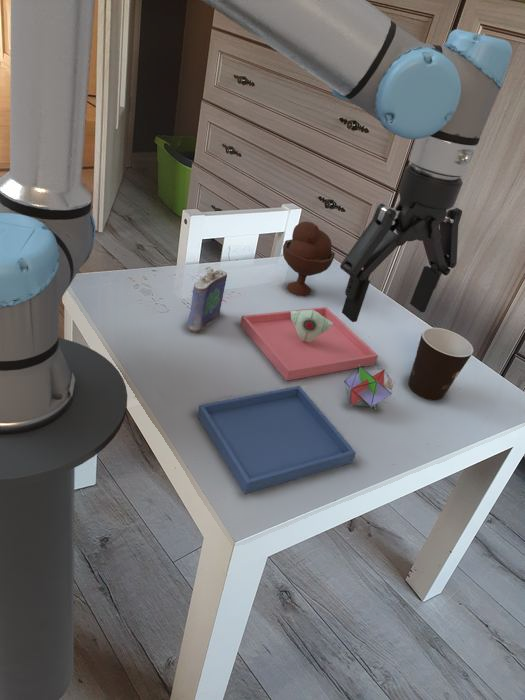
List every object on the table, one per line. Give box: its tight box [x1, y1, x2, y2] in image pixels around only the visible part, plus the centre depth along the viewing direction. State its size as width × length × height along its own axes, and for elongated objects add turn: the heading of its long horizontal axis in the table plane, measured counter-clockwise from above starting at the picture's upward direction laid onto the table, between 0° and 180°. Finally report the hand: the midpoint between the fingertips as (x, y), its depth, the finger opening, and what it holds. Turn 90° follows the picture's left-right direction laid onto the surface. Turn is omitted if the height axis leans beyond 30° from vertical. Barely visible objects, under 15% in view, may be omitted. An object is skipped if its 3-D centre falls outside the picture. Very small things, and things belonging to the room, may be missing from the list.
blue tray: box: [197, 385, 357, 494], centre depth 77 cm, size 17×15×2 cm
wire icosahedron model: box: [343, 365, 394, 410], centre depth 87 cm, size 7×7×8 cm
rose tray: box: [240, 306, 379, 381], centre depth 100 cm, size 19×17×2 cm
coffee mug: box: [407, 327, 474, 401], centre depth 94 cm, size 12×9×10 cm
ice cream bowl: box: [282, 221, 336, 297], centre depth 114 cm, size 11×11×15 cm
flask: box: [187, 266, 228, 334], centre depth 97 cm, size 9×3×11 cm, turn 153°
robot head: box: [290, 310, 333, 342], centre depth 98 cm, size 8×4×7 cm, turn 77°
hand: (384, 312), depth 82 cm, fingers open, 13 cm apart
